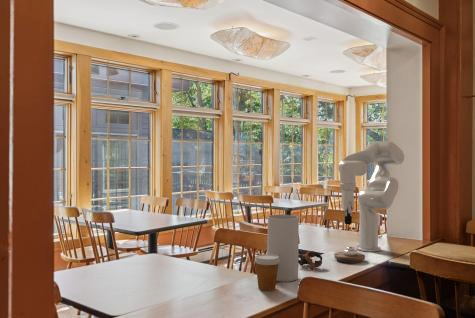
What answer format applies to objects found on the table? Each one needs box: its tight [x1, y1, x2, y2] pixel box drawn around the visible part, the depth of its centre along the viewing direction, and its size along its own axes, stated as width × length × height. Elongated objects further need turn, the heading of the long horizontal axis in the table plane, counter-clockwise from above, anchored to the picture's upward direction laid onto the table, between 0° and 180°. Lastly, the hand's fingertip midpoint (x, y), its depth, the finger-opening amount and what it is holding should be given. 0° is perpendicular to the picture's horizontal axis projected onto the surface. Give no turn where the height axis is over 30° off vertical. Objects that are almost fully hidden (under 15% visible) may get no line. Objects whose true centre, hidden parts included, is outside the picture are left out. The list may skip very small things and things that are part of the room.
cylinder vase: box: [266, 214, 300, 283], centre depth 187 cm, size 12×12×25 cm
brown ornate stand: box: [298, 250, 323, 271], centre depth 205 cm, size 12×10×8 cm
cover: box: [343, 246, 358, 257], centre depth 218 cm, size 6×6×4 cm
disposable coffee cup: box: [253, 253, 280, 292], centre depth 173 cm, size 10×10×12 cm
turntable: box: [334, 251, 366, 264], centre depth 219 cm, size 14×14×3 cm
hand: (348, 223), depth 228 cm, fingers closed
